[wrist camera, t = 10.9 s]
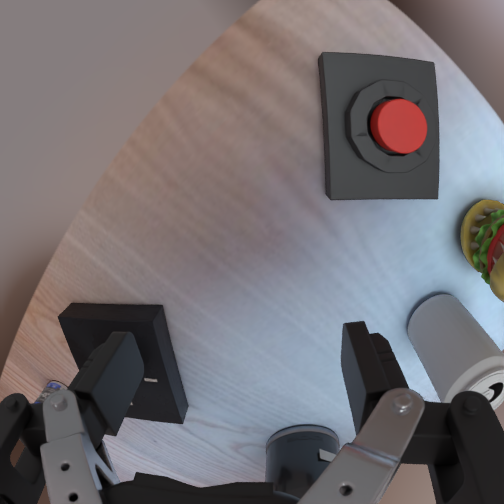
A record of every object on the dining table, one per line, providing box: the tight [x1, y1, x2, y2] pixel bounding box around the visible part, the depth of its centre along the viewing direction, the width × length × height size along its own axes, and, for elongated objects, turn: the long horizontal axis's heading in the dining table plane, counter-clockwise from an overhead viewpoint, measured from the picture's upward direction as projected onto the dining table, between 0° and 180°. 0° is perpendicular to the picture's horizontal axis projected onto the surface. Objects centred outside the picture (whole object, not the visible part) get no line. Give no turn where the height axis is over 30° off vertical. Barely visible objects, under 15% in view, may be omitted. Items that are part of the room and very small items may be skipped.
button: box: [370, 99, 427, 154], centre depth 18 cm, size 4×4×2 cm
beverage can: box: [408, 294, 504, 410], centre depth 23 cm, size 6×6×12 cm
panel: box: [58, 303, 188, 424], centre depth 31 cm, size 14×11×3 cm
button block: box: [318, 52, 439, 200], centre depth 21 cm, size 11×9×4 cm
